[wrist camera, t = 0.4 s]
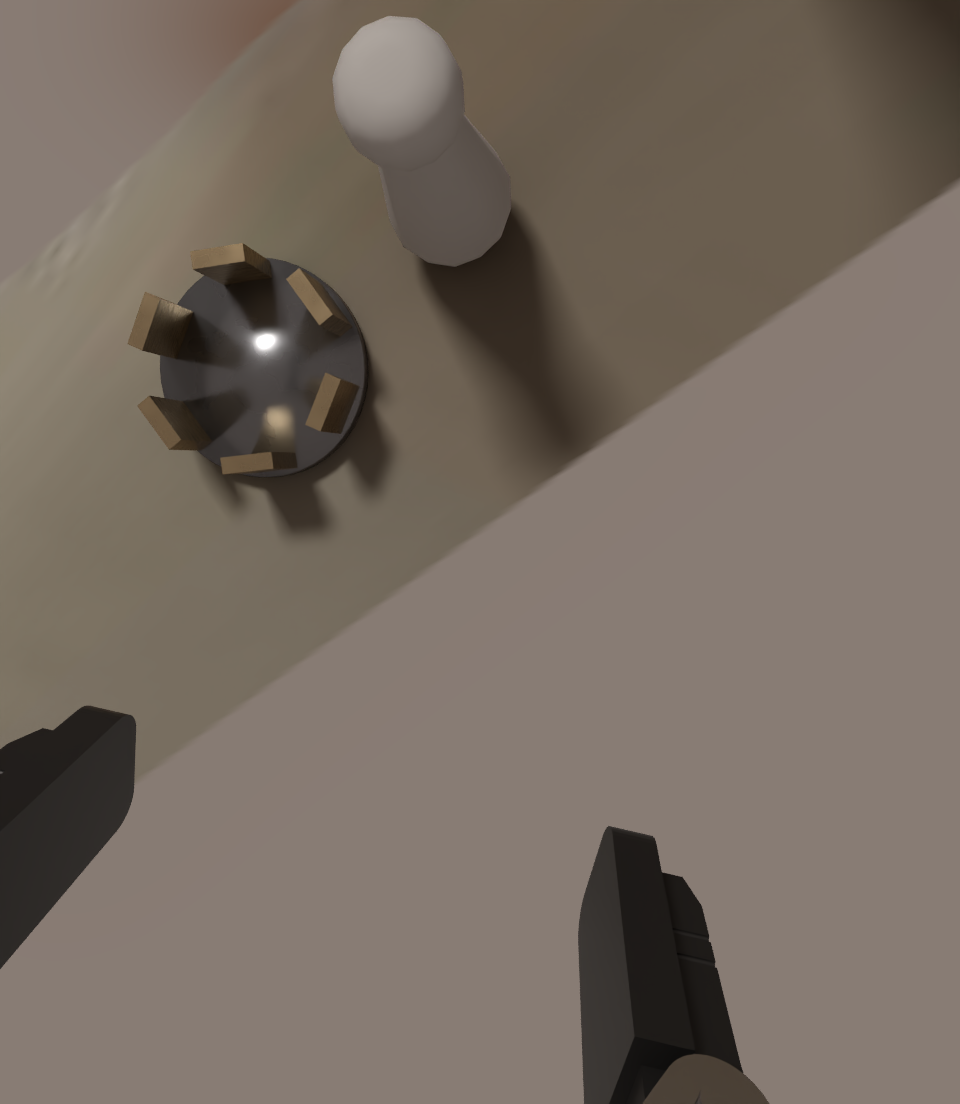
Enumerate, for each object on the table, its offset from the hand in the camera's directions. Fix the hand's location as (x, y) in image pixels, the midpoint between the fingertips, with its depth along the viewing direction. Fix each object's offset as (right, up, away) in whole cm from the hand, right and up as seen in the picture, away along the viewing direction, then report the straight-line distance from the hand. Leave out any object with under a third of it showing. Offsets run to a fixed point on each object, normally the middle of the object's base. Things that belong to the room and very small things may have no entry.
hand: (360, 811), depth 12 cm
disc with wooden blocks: (-9, +14, +26) cm, 30 cm away
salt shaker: (+1, +21, +24) cm, 31 cm away
